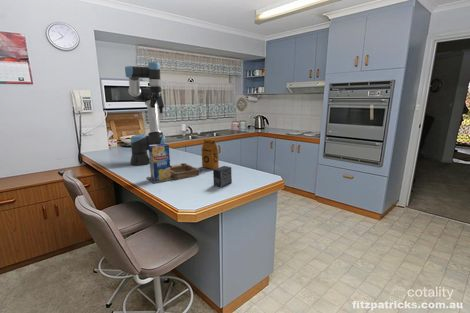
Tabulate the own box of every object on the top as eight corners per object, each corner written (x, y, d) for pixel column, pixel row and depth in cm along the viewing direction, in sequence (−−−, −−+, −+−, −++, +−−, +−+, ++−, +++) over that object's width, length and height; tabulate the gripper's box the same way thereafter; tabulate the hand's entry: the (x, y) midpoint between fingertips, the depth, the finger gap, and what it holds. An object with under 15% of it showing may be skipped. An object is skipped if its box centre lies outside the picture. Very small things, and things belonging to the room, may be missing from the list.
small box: (224, 181, 162) (224, 165, 159) (232, 183, 158) (232, 167, 155) (212, 185, 154) (212, 168, 151) (220, 187, 150) (220, 170, 147)
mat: (146, 178, 167) (146, 177, 167) (166, 174, 175) (166, 173, 175) (153, 183, 156) (153, 182, 156) (175, 179, 164) (175, 178, 164)
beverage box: (150, 178, 165) (148, 145, 160) (166, 175, 171) (164, 143, 166) (154, 181, 159) (152, 147, 154) (171, 177, 166) (169, 145, 161)
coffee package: (211, 170, 185) (211, 141, 180) (200, 167, 193) (199, 139, 188) (220, 167, 192) (220, 139, 187) (209, 165, 200) (209, 137, 195)
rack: (163, 171, 181) (163, 166, 180) (184, 168, 191) (184, 163, 190) (176, 179, 164) (175, 173, 163) (199, 175, 174) (198, 169, 173)
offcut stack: (168, 171, 182) (167, 165, 181) (181, 169, 188) (181, 163, 187) (170, 173, 179) (169, 167, 178) (183, 171, 184) (183, 165, 183)
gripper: (144, 86, 180) (146, 116, 184) (156, 85, 160) (158, 118, 165) (154, 87, 184) (156, 116, 189) (167, 85, 165) (169, 118, 169)
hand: (157, 117), depth 177 cm, fingers open, 13 cm apart
